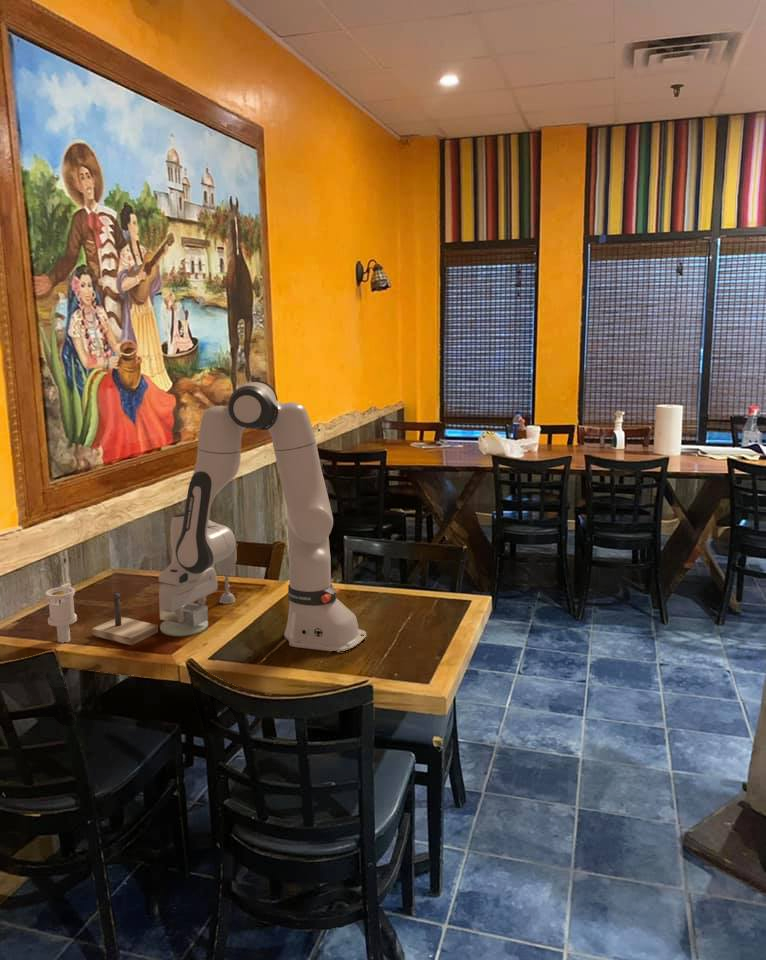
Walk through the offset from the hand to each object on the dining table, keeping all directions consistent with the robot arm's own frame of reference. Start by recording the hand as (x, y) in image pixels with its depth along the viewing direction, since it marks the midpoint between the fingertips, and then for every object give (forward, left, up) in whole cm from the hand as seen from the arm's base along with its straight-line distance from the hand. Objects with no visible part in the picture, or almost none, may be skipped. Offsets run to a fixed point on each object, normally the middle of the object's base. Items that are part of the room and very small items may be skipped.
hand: (191, 616), depth 210 cm
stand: (+14, +11, -4) cm, 18 cm away
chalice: (+5, -22, -4) cm, 23 cm away
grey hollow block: (+3, 0, -1) cm, 3 cm away
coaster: (+3, 0, -4) cm, 4 cm away
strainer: (+25, +22, -4) cm, 33 cm away
